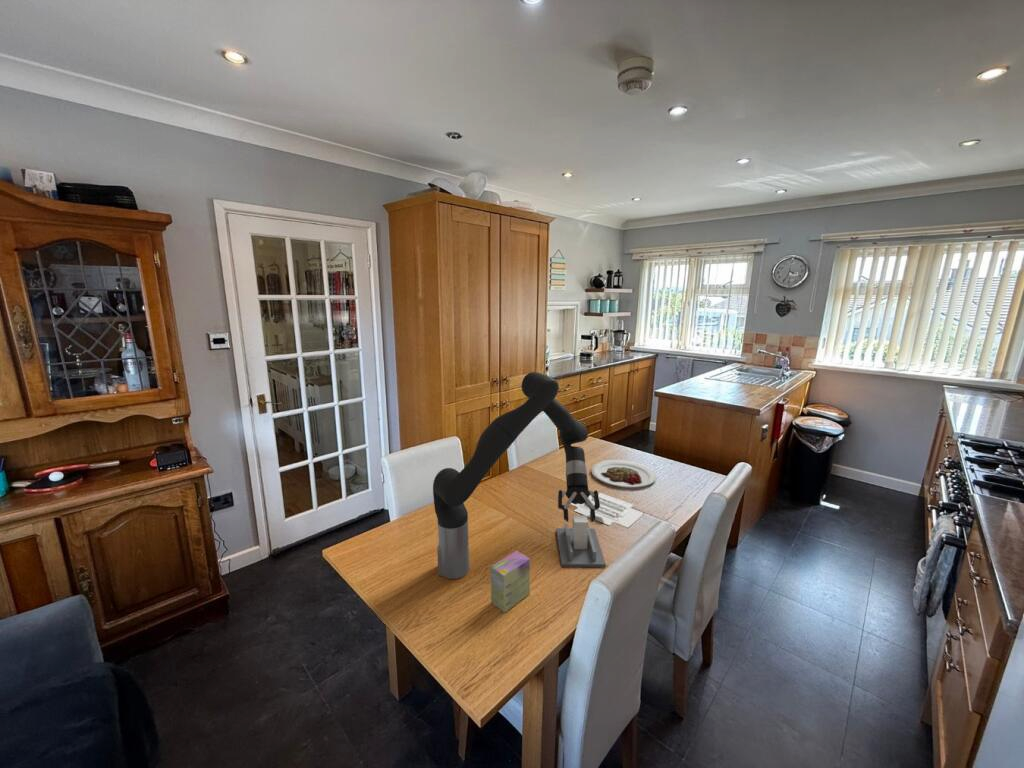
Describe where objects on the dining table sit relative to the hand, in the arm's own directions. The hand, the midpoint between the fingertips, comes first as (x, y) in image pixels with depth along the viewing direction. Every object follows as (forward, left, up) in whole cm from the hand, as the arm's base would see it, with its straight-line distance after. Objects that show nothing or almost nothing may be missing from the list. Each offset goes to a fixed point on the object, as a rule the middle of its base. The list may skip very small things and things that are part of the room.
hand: (579, 521), depth 137 cm
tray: (+14, +25, -10) cm, 31 cm away
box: (-23, -25, -10) cm, 35 cm away
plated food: (+29, +56, -10) cm, 64 cm away
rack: (0, -1, -9) cm, 10 cm away
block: (0, -1, -8) cm, 9 cm away
